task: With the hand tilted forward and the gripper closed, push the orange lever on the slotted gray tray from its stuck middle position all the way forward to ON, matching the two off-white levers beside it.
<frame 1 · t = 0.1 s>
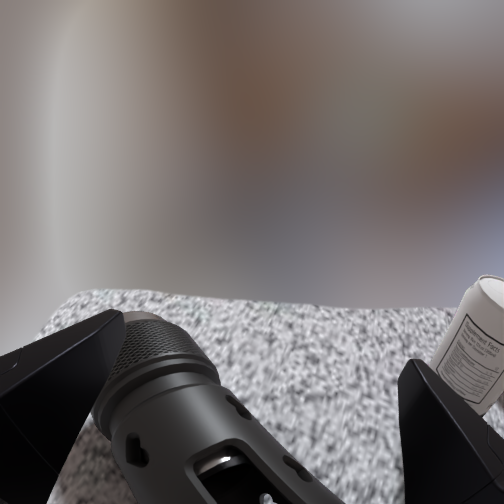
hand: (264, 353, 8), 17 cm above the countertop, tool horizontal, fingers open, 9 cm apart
supplement can: (433, 420, 23), on the countertop
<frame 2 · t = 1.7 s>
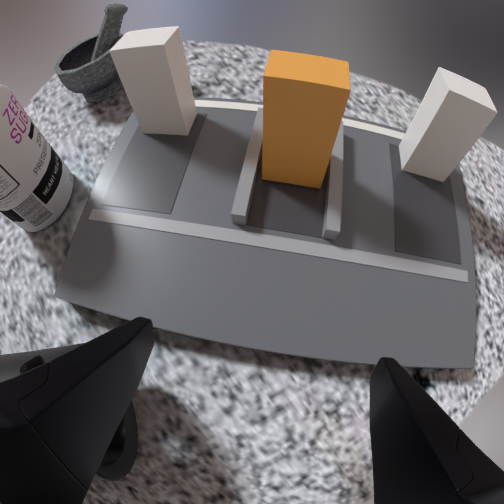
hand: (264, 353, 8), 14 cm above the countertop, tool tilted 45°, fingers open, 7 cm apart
tripped lever: (300, 125, 19), point 8 cm above the countertop, slide at 0.0 cm
slotted gray tray: (285, 217, 25), on the countertop
mortar and pestle: (109, 86, 33), on the countertop
muzzle brake: (20, 409, 19), on the countertop
supplement can: (47, 201, 27), on the countertop
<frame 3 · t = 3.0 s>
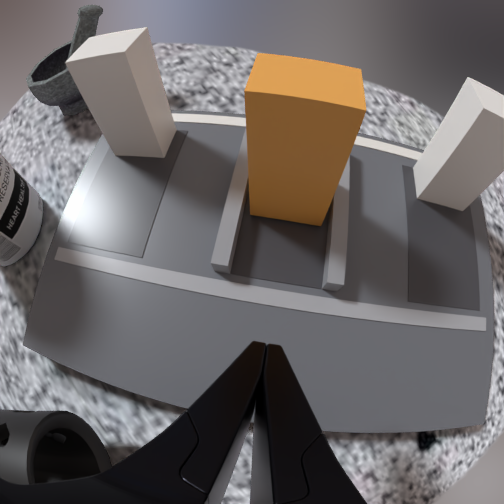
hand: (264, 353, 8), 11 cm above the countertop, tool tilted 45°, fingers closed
tripped lever: (296, 152, 15), point 8 cm above the countertop, slide at 0.0 cm
slotted gray tray: (279, 257, 21), on the countertop
mortar and pestle: (87, 97, 30), on the countertop
muzzle brake: (3, 449, 15), on the countertop
supplement can: (18, 229, 23), on the countertop
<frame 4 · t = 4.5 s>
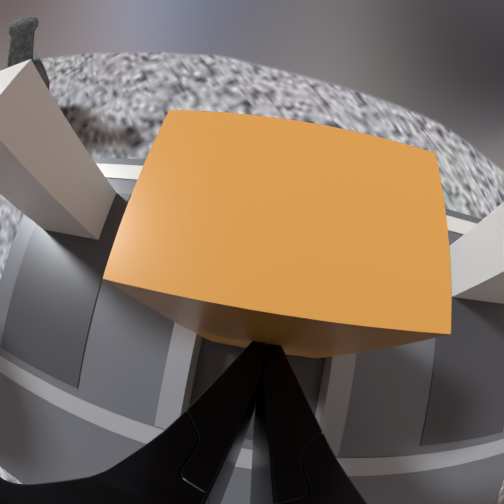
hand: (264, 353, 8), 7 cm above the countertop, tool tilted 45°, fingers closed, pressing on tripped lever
tripped lever: (276, 291, 9), point 8 cm above the countertop, slide at 0.2 cm, touching gripper
slotted gray tray: (256, 383, 15), on the countertop
mortar and pestle: (35, 128, 23), on the countertop
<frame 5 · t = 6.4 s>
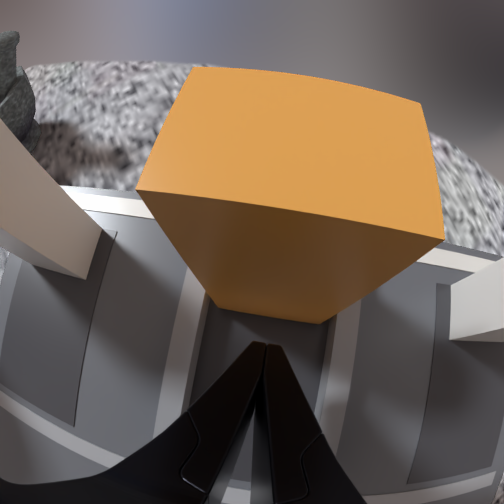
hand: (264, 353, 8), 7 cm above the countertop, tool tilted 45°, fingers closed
tripped lever: (282, 244, 9), point 8 cm above the countertop, slide at 4.1 cm
slotted gray tray: (248, 423, 14), on the countertop
mortar and pestle: (24, 144, 22), on the countertop
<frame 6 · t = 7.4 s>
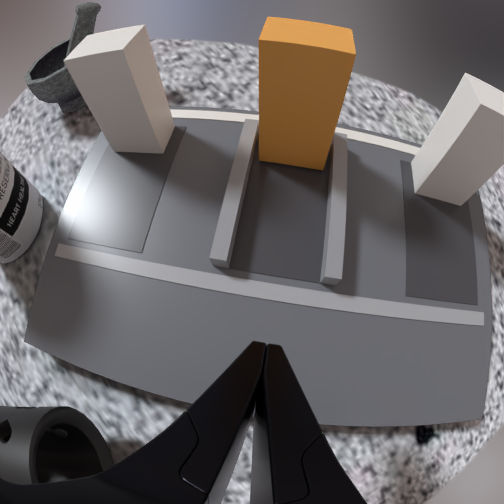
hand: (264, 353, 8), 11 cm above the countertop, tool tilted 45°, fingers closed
tripped lever: (300, 99, 17), point 8 cm above the countertop, slide at 4.1 cm
slotted gray tray: (277, 252, 22), on the countertop
mortar and pestle: (85, 93, 29), on the countertop
muzzle brake: (5, 446, 16), on the countertop
supplement can: (18, 227, 23), on the countertop
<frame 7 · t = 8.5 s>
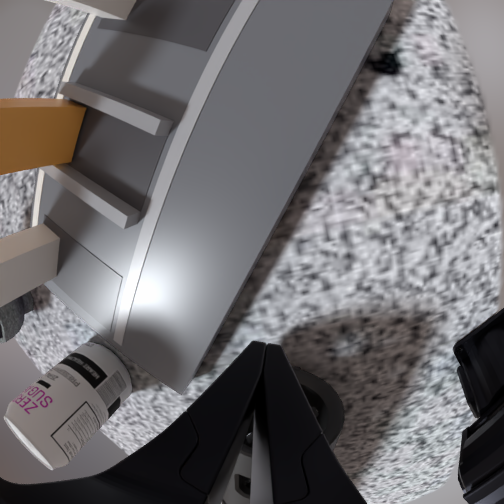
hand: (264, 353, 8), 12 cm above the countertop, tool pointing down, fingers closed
tripped lever: (18, 133, 15), point 8 cm above the countertop, slide at 4.1 cm
slotted gray tray: (147, 158, 21), on the countertop
mortar and pestle: (21, 287, 34), on the countertop
muzzle brake: (279, 449, 28), on the countertop
supplement can: (109, 366, 32), on the countertop
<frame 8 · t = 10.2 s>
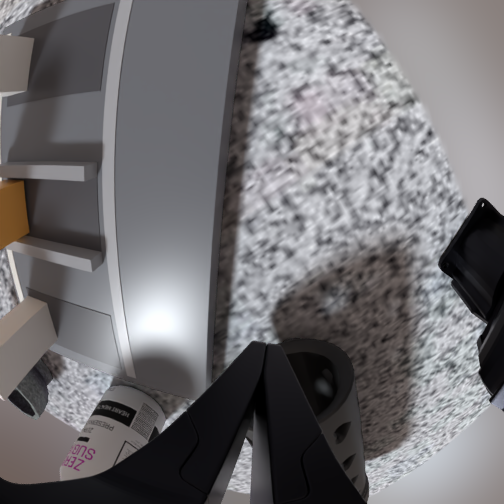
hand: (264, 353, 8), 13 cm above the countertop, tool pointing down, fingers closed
slotted gray tray: (91, 202, 22), on the countertop
mortar and pestle: (35, 362, 34), on the countertop
muzzle brake: (320, 421, 29), on the countertop
supplement can: (137, 403, 32), on the countertop
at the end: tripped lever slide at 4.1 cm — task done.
